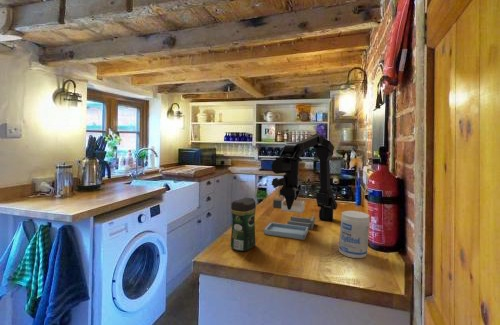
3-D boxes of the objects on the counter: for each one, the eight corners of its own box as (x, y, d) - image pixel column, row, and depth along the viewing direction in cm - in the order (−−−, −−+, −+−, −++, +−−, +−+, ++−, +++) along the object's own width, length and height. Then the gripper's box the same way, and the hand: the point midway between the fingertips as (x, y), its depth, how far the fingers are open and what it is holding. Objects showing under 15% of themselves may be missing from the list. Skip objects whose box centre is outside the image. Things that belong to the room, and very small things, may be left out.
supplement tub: (337, 256, 96) (340, 215, 95) (339, 246, 105) (341, 209, 103) (367, 261, 92) (370, 219, 91) (367, 250, 101) (369, 212, 100)
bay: (314, 224, 132) (314, 216, 131) (312, 229, 123) (312, 221, 123) (290, 221, 136) (291, 213, 135) (287, 226, 127) (287, 218, 127)
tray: (308, 231, 121) (308, 226, 121) (304, 240, 111) (304, 235, 110) (270, 226, 127) (270, 222, 127) (263, 234, 116) (264, 229, 116)
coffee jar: (240, 240, 108) (241, 195, 107) (258, 245, 104) (259, 197, 102) (226, 249, 100) (227, 199, 98) (244, 254, 96) (245, 202, 94)
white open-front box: (304, 209, 119) (304, 200, 119) (302, 213, 113) (302, 203, 113) (275, 206, 124) (276, 198, 123) (272, 209, 118) (272, 200, 118)
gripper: (279, 168, 128) (277, 201, 130) (267, 173, 111) (266, 210, 112) (302, 170, 124) (301, 203, 126) (295, 175, 107) (293, 213, 108)
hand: (290, 207), depth 118 cm, fingers closed on white open-front box, 6 cm apart
